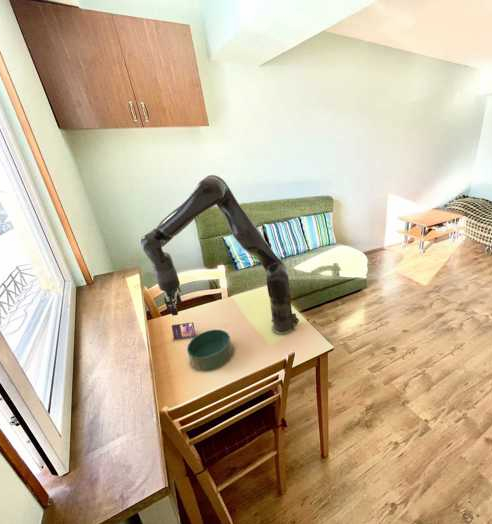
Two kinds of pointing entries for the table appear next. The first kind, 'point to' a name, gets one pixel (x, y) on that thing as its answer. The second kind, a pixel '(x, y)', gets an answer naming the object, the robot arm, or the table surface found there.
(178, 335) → the game card
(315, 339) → the table surface
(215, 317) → the table surface
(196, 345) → the bowl
